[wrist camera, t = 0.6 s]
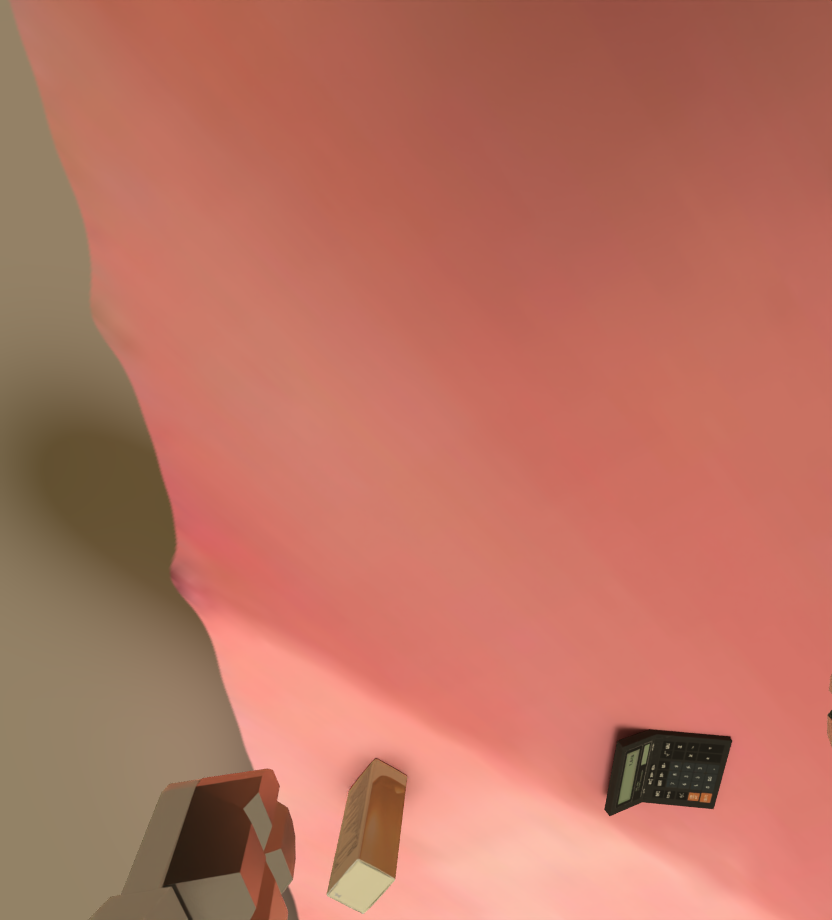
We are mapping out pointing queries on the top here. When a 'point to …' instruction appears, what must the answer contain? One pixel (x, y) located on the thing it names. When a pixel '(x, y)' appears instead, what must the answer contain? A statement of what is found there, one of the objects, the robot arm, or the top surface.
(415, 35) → the top surface
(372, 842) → the skincare box
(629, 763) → the calculator
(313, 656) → the top surface
